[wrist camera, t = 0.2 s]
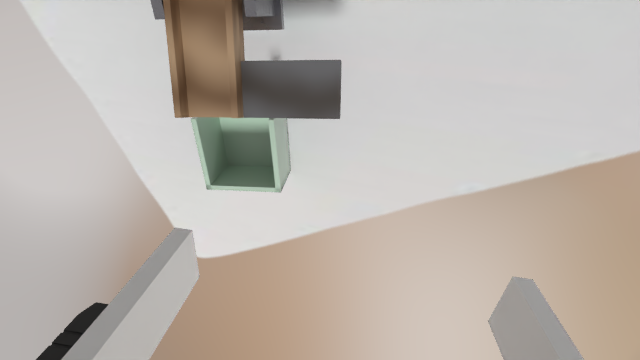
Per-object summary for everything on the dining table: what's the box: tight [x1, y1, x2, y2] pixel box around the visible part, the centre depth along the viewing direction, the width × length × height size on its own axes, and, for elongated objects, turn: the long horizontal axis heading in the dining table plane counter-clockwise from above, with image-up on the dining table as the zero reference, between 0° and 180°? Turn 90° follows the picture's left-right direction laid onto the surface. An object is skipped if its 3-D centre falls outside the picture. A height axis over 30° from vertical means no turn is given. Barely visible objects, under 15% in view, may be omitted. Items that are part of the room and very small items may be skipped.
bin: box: [191, 117, 291, 192], centre depth 38 cm, size 9×9×6 cm
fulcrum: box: [151, 0, 284, 30], centre depth 30 cm, size 5×10×8 cm, turn 92°
